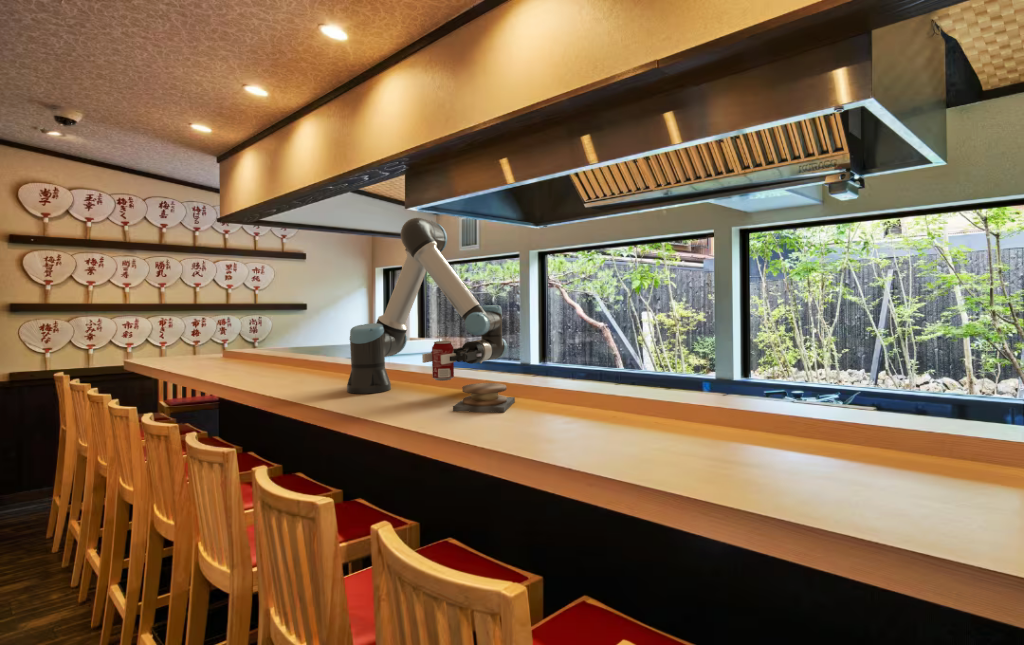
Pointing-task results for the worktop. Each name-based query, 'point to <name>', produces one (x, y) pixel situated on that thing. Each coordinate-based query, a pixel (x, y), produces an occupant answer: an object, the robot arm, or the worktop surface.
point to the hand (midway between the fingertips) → (432, 359)
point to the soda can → (438, 369)
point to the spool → (484, 398)
